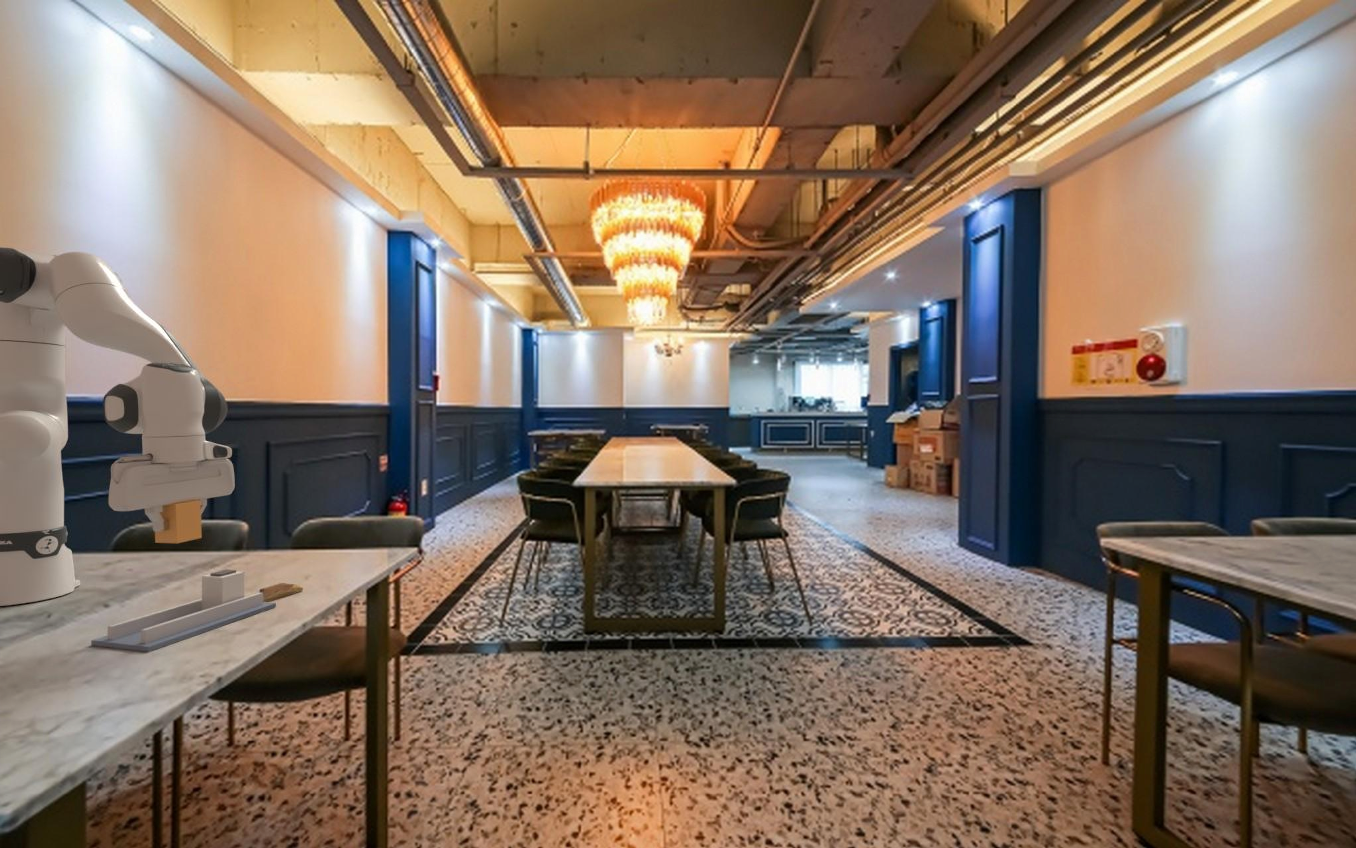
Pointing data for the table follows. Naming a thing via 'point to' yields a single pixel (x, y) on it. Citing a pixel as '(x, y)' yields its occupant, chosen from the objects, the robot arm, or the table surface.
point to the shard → (279, 591)
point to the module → (181, 522)
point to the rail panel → (188, 615)
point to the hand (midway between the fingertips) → (178, 527)
